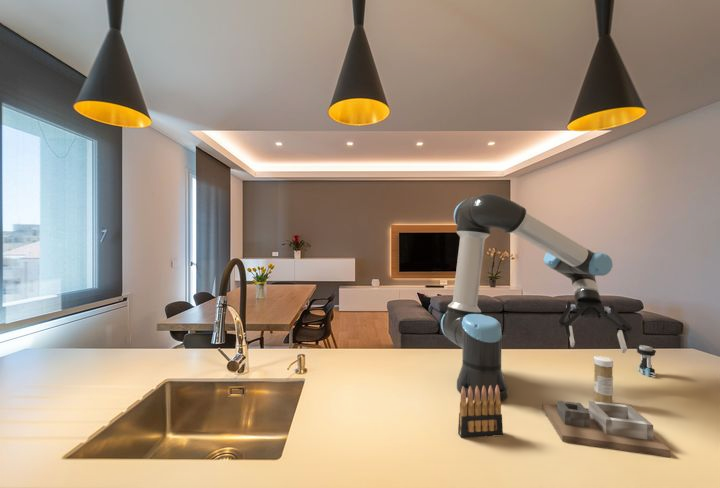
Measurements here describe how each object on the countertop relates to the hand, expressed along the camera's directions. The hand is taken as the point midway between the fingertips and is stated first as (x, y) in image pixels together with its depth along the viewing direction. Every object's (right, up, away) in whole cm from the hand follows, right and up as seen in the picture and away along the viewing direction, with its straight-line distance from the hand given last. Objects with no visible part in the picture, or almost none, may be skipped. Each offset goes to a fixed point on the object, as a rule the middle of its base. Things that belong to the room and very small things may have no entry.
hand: (597, 348), depth 102 cm
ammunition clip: (-47, -14, -24) cm, 54 cm away
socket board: (-16, -14, -21) cm, 30 cm away
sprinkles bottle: (-4, -14, -8) cm, 17 cm away
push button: (+28, -14, +13) cm, 34 cm away
